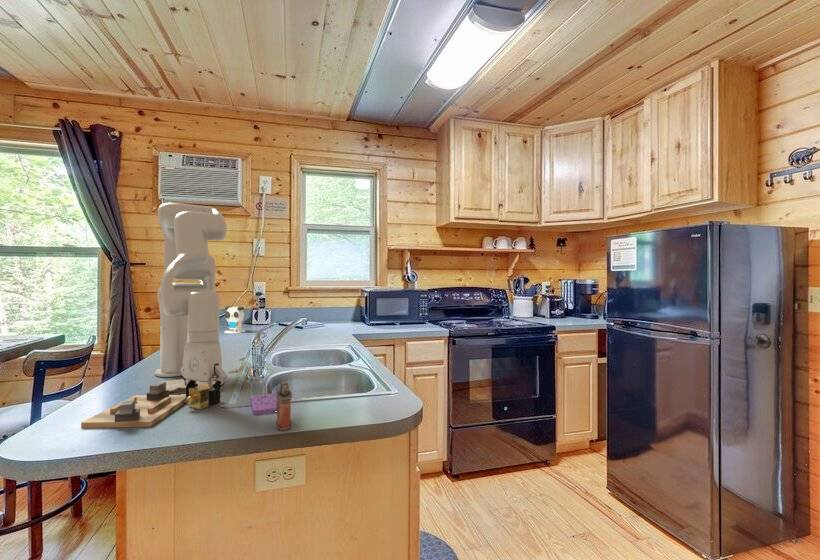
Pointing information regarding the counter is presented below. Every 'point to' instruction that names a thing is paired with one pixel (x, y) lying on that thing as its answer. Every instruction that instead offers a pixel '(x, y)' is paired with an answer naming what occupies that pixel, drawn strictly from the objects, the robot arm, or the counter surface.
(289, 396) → the amber flat bottle
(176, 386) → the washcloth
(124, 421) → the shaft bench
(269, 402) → the sponges
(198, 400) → the coupler
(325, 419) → the counter surface
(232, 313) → the panda figurine
